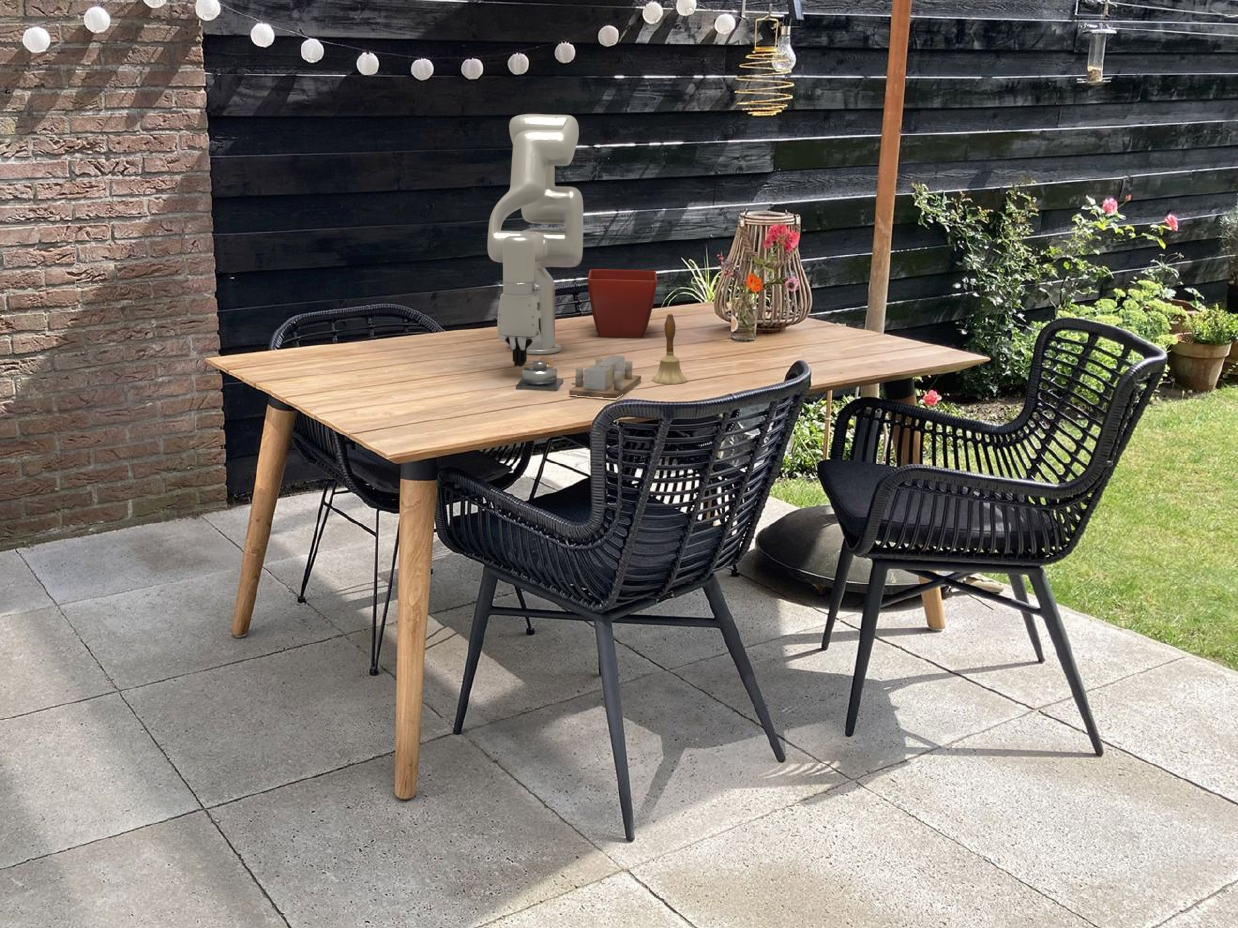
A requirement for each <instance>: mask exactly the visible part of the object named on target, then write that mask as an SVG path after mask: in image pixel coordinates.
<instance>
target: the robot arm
mask: <svg viewBox="0 0 1238 928" xmlns="http://www.w3.org/2000/svg"><path fill="white" fill-rule="evenodd" d="M508 127H509V135H510V139H511V143H512V155H511V156H512V157H511V169H510V170H511V171H510V185H509V186H510V187H509V190H508V192H506V193H505V194H504V195H503V196H502V197H501V198H500V200H499V201H497V203H496V205H495V206H494V208H493V210H492V212H491V214H490V218H489V222H488V232H487V253H488V256H489V258H490V260H491V261H493V262H497V263H502V285H503V286H502V287H503V288H502V289H503V290H502V291H503V292H502V293H501V294H500V297H499V302H498V307H497V311H498V312H497V325H496V326H497V327H496V329H497V333H498V334H497V339H498V340H499V341H503V342H506V344H508V346H509V347H510V349H511V350H512V362H513V363H514V364H513V365H514V367H523V366H524V365H526V363H527V361H528V360H527V359H528V357H527V356H528V355H551V354H556V353H559V352H561V350H562V346H561V344H559V343H557V342H556V284H555V281H554V279H553V277H552V275H551V274H550V273H549V272H548V271H547V269H546V268H575V267H578V266H580V264H581V262H582V259H583V251H584V248H583V246H584V200H583V196H582V195H583V194H582V193H581V191H580V190H579V189H578V188H577V187H574V186H556V184H555V183H556V182H555V177H556V176H555V175H556V174H555V171H556V170H555V169H556V168H555V166H556V167H564V166H565V167H566V166H568V165H571V162H572V160H573V159H574V155H575V152H576V147H577V145H578V142H579V137H580V134H579V133H580V132H579V130H580V128H579V124H578V121H577V119H576V118H575V117H574V116H572V115H569V114H541V113H526V114H519V115H516V116H514V117H512V118H511V119H510V121H509V125H508ZM519 210H521V216H522V219H523V220H524V221H525V222H528V223H530V224H538V225H539V224H542V225H543V224H545V225H562V226H564V227H565V229H550V228H527V229H523V230H522V231H520V230H502V225H503V223H504V222H505V220H506V219H507V218H508V217H509V216H510V215H511V214H512V213H514V212H516V211H519Z"/></svg>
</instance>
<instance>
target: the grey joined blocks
mask: <svg viewBox="0 0 1238 928" xmlns="http://www.w3.org/2000/svg"><path fill="white" fill-rule="evenodd" d="M625 359H626V356H625V355H617V354H616V355H614V354H612V355H610V356H608V357H607V358H605V359H603V361H602V362H600V363H599V364H597V365H594V364H592V365H590V366H588V367H586V368H585V369H584V375H583V381H584V389H585V390H596V391H606V390H608V389H609V388H610V387H612V386H613V382H614V372H615V371H621V372H622V376H623V375H624V374H625Z"/></svg>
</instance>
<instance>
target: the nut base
mask: <svg viewBox="0 0 1238 928" xmlns="http://www.w3.org/2000/svg"><path fill="white" fill-rule="evenodd" d="M563 383H564V378H560V377H559V378H558V377H557V381H556V382H555V383H550V384H530V383H525V382H523V377H522V378H521V379H520V380H519V381H518V383H517V384H516V385H515V390H526V391H527V390H528V391H529V390H530V391H547V392H557V391H558V390H559V389H560V387H561V386H562V384H563ZM560 385H561V386H560Z"/></svg>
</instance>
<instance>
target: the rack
mask: <svg viewBox="0 0 1238 928" xmlns="http://www.w3.org/2000/svg"><path fill="white" fill-rule="evenodd" d="M603 360H604V358H596V359H595V365H597V364H599V363H600V362H602V361H603ZM584 370H585V369H584V368H581V367H577V368H575V383H576V384H575V385H574V386H573V387H572V388H570V389H569V391H568V396H569V395H577V396H589V397H603V398H617V397H619V396H621V395H622V394H624V393H625V394H626V393H628V392H629V391H631V390H632V389H633V388H634V386H635V387H636V386H637V385H639V384H640V383H641V381H642V377H641V375H637V374H635V375H634V374H633V361H631V360H626V361H625V372H624V375H623V376H622V372H621V371H615V372H614V382H613V386H612V387H610V388H609V389H608V390H606V391H596V390H585V389H584ZM639 382H640V383H639ZM638 383H639V384H638ZM630 389H631V390H630ZM625 394H624V395H625ZM621 397H622V396H621ZM612 401H614V400H612Z"/></svg>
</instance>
